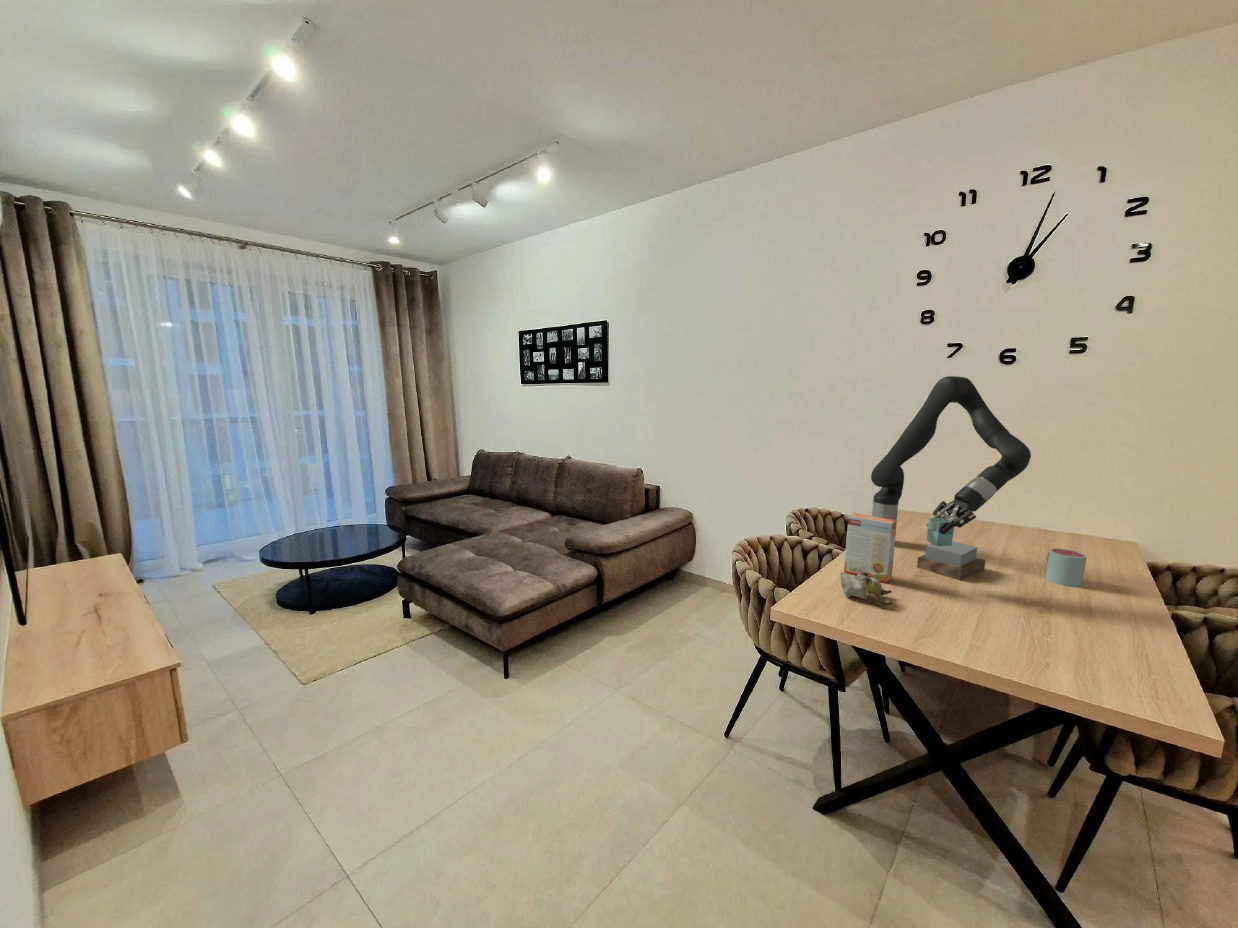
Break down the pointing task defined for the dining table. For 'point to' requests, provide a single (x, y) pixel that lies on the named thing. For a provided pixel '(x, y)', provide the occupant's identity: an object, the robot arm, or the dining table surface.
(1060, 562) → the mug
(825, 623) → the dining table surface
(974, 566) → the tower base slab
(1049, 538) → the dining table surface
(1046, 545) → the dining table surface
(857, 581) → the ceramic sculpture
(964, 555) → the tower top slab
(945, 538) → the teal pillar
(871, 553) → the cracker box
